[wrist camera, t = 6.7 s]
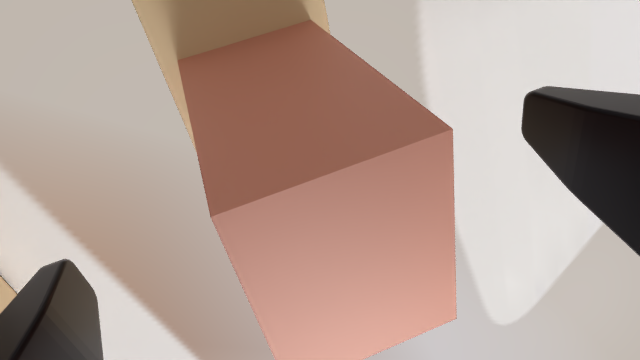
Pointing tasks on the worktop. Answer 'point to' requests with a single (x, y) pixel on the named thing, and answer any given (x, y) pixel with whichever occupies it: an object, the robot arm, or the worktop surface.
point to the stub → (312, 175)
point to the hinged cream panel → (5, 294)
